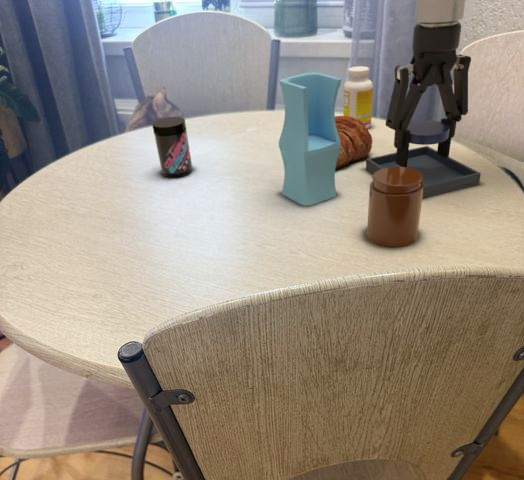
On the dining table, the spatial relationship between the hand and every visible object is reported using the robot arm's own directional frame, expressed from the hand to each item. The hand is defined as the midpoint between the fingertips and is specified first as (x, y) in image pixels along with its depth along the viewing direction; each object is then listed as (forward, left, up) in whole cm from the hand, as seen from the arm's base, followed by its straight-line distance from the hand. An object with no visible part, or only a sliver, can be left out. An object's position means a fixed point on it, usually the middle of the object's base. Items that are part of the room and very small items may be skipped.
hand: (422, 160), depth 101 cm
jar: (-18, +17, -3) cm, 25 cm away
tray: (0, 0, -3) cm, 3 cm away
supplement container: (+28, +42, -3) cm, 51 cm away
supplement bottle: (+33, -4, -3) cm, 33 cm away
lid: (0, 0, +6) cm, 6 cm away
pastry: (+18, +8, -3) cm, 20 cm away
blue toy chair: (+3, +22, -3) cm, 23 cm away
